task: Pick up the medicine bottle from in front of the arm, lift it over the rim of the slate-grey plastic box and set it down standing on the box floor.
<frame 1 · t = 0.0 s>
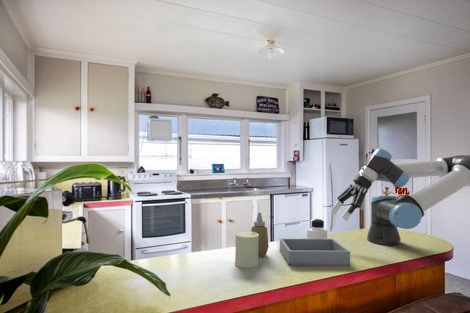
hand: (337, 215, 136), 15 cm above the counter, tool tilted 35°, fingers open, 13 cm apart
can: (246, 264, 116), on the counter
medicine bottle: (316, 244, 143), on the counter
grey box: (312, 257, 124), on the counter
squeeze bottle: (258, 255, 126), on the counter
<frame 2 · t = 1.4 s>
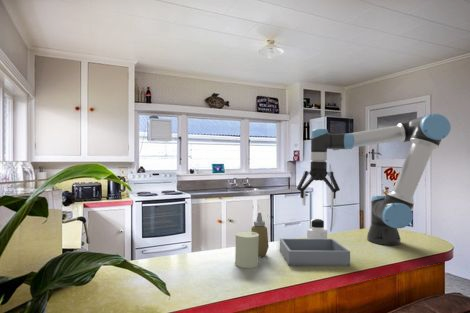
hand: (317, 205, 143), 19 cm above the counter, tool pointing down, fingers open, 13 cm apart
nothing on the counter moved.
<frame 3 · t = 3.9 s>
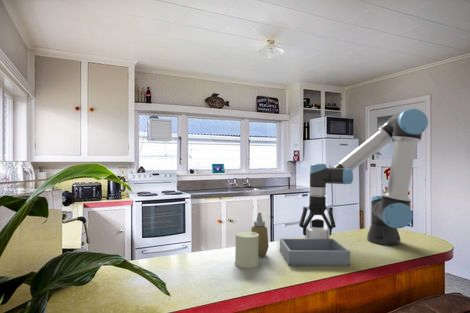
hand: (317, 241, 143), 1 cm above the counter, tool pointing down, fingers closed on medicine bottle, 10 cm apart
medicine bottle: (316, 244, 143), on the counter, touching gripper
everything else where it was.
when the fingers open (4 cm above the counter, at t = 10.5 s): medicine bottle drops 2 cm, resting on grey box.
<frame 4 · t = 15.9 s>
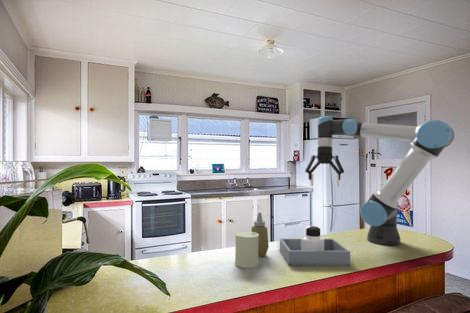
hand: (324, 186, 157), 27 cm above the counter, tool pointing down, fingers open, 13 cm apart
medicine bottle: (312, 256, 124), point 1 cm above the counter, touching grey box
everything else where it was.
at the end: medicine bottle inside the target area on the grey box (0.1 cm from its centre), point 0.6 cm above the grey box's base; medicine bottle tilted 0°; the gripper is holding nothing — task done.
